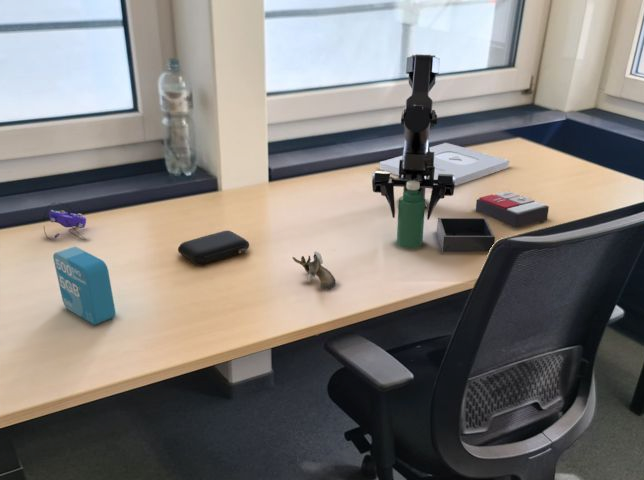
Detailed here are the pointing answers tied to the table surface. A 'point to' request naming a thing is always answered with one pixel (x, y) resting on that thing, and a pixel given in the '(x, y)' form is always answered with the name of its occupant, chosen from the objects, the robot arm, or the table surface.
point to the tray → (465, 234)
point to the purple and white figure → (67, 220)
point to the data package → (84, 285)
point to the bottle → (411, 217)
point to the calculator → (512, 209)
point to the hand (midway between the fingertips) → (410, 218)
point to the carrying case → (213, 247)
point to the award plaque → (455, 163)
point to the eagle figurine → (317, 271)
